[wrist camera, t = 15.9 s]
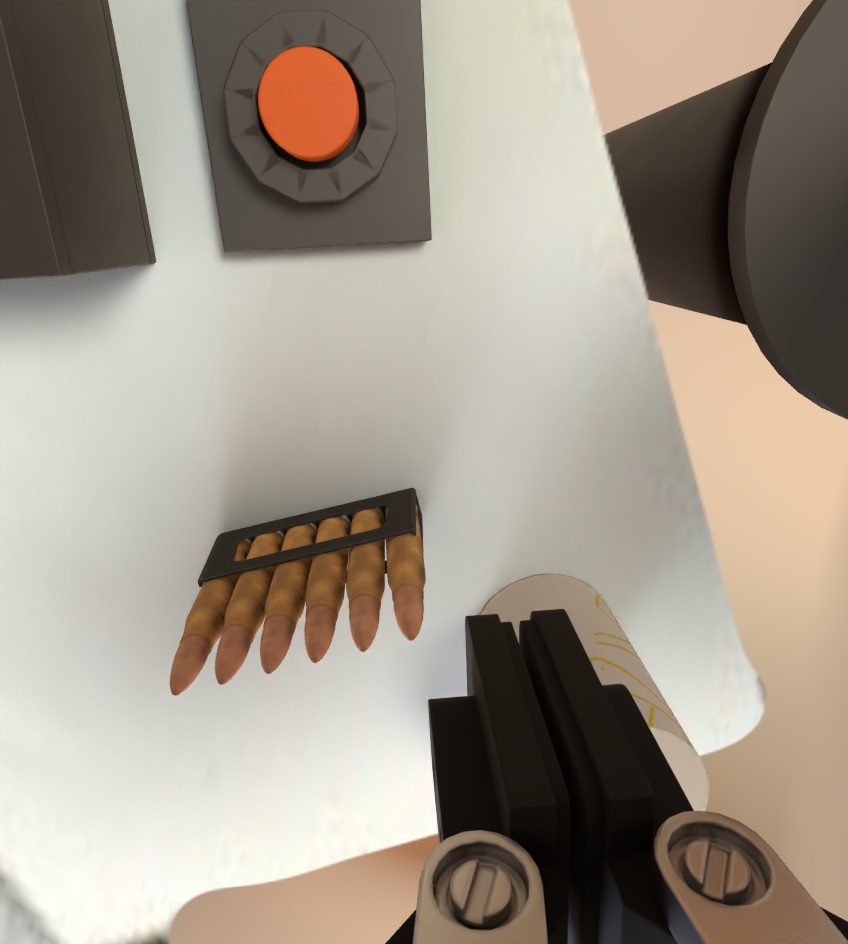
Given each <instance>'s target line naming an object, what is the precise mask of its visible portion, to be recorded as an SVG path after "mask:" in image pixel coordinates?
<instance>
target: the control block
mask: <svg viewBox="0 0 848 944" xmlns="http://www.w3.org/2000/svg"><path fill="white" fill-rule="evenodd" d="M186 1H187V7H188V14H189V21H190V27H191V34H192V41H193V47H194V54H195V61H196V67H197V74H198V81H199V87H200V94H201V101H202V107H203V114H204V120H205V127H206V134H207V140H208V147H209V154H210V160H211V167H212V174H213V180H214V187H215V194H216V200H217V207H218V213H219V220H220V227H221V233H222V240H223V247H224V252H241V251H258V250H275V249H292V248H309V247H326V246H343V245H360V244H377V243H394V242H411V241H428V240H432V235H431V214H430V193H429V172H428V151H427V130H426V109H425V88H424V67H423V46H422V25H421V4H420V0H186ZM300 46H309V47H315V48H318V49H321V50H324V51H326V52H328V53H329V54H331V55H332V56H334V57H335V58H336V59H337V60H338V61H340V63H341V64H342V65H343V66H344V67H345V69H346V70H347V71H348V73H349V75H350V77H351V79H352V81H353V83H354V86H355V90H356V93H357V99H358V106H359V120H358V126H357V130H356V132H355V135H354V137H353V139H352V141H351V142H350V144H349V145H348V146H347V148H346V149H345V150H344V151H343V152H341V153H340V154H339V155H337V156H336V157H334V158H332V159H329V160H326V161H321V162H309V161H304V160H301V159H298V158H296V157H294V156H292V155H291V154H289V153H288V152H286V151H285V150H284V149H283V148H282V147H280V146H279V145H278V144H277V143H276V142H275V141H274V140H273V139H272V137H271V136H270V135H269V133H268V132H267V130H266V128H265V126H264V124H263V122H262V119H261V116H260V112H259V106H258V90H259V85H260V81H261V78H262V76H263V73H264V71H265V69H266V68H267V66H268V65H269V64H270V62H271V61H272V60H273V59H274V58H275V57H276V56H278V55H279V54H280V53H282V52H284V51H286V50H288V49H291V48H294V47H300Z"/></svg>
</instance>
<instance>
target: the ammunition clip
mask: <svg viewBox="0 0 848 944" xmlns="http://www.w3.org/2000/svg"><path fill="white" fill-rule="evenodd" d="M385 539H386V549H387V560H386V561H385ZM348 555H349V559H348ZM347 565H348V570H347ZM386 573H387V577H388V584H389V587H390V589H391V591H392V599H393V602H394V612H395V617H396V621H397V623H398V626H399V628H400V630H401V632H402V633H403V635H404V636H405V637H406V638H407V639H408V640H410V641H412V640H414V639H415V638H416V636H417V635H418V633H419V631H420V628H421V625H422V621H423V613H424V605H423V599H424V594H423V588H424V584H425V567H424V558H423V522H422V514H421V510H420V507H419V503H418V499H417V495H416V491H415V489H414V488H410V489H406V490H402V491H398V492H393V493H389V494H385V495H381V496H377V497H372V498H368V499H364V500H360V501H356V502H351V503H347V504H343V505H339V506H335V507H330V508H326V509H322V510H318V511H314V512H309V513H305V514H301V515H297V516H293V517H288V518H284V519H280V520H276V521H272V522H267V523H263V524H259V525H255V526H251V527H246V528H242V529H238V530H234V531H230V532H225V533H221V534H220V535H219V536H218V537H217V539H216V541H215V543H214V546H213V548H212V550H211V552H210V555H209V557H208V559H207V561H206V564H205V566H204V568H203V570H202V573H201V575H200V577H199V579H198V584H199V587H202V588H201V590H200V592H199V594H198V596H197V598H196V600H195V602H194V604H193V606H192V608H191V610H190V612H189V614H188V617H187V619H186V624H185V629H184V634H183V636H182V639H181V641H180V645H179V647H178V650H177V652H176V654H175V657H174V661H173V664H172V669H171V675H170V689H171V693H172V694H173V695H175V696H176V695H179V694H180V693H182V692H183V691H184V690H186V689H187V688H188V687H189V686H190V684H191V683H192V682H193V681H194V679H195V678H196V677H197V675H198V674H199V672H200V671H201V669H202V668H203V666H204V664H205V662H206V660H207V657H208V655H209V654H210V652H211V650H212V648H213V646H214V644H215V642H216V641H217V640H218V639H219V637H220V636H221V639H220V642H219V646H218V650H217V655H216V661H215V673H216V678H217V681H218V683H219V684H220V685H223V684H225V683H227V682H228V681H229V680H230V679H232V677H233V676H234V675H235V674H236V672H237V671H238V670H239V668H240V667H241V665H242V664H243V662H244V660H245V658H246V656H247V654H248V651H249V648H250V645H251V643H252V642H253V639H254V637H255V634H256V632H257V631H258V629H259V628H260V626H261V625H262V623H263V621H264V617H265V621H264V629H263V633H262V637H261V644H260V657H261V664H262V667H263V670H264V671H265V673H267V674H270V673H272V672H273V671H274V670H276V668H277V667H278V666H279V665H280V663H281V662H282V660H283V659H284V657H285V655H286V654H287V651H288V649H289V646H290V643H291V640H292V636H293V633H294V631H295V627H296V624H297V622H298V620H299V619H300V617H301V615H302V613H303V609H304V605H305V601H306V606H307V608H306V622H305V645H306V650H307V654H308V656H309V658H310V660H311V661H312V662H313V663H317V662H318V661H320V660H321V659H322V658H323V656H324V655H325V653H326V652H327V650H328V648H329V646H330V644H331V641H332V637H333V634H334V631H335V625H336V621H337V617H338V612H339V610H340V608H341V606H342V603H343V599H344V592H345V583H346V588H347V595H348V598H349V621H350V630H351V634H352V638H353V640H354V643H355V645H356V646H357V648H358V649H359V650H360V651H361V652H364V651H366V650H367V649H368V648H369V647H370V645H371V644H372V642H373V640H374V638H375V635H376V632H377V628H378V623H379V611H380V607H381V599H382V596H383V593H384V589H385V574H386ZM203 582H204V584H203ZM202 585H203V586H202ZM265 614H266V616H265Z"/></svg>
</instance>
